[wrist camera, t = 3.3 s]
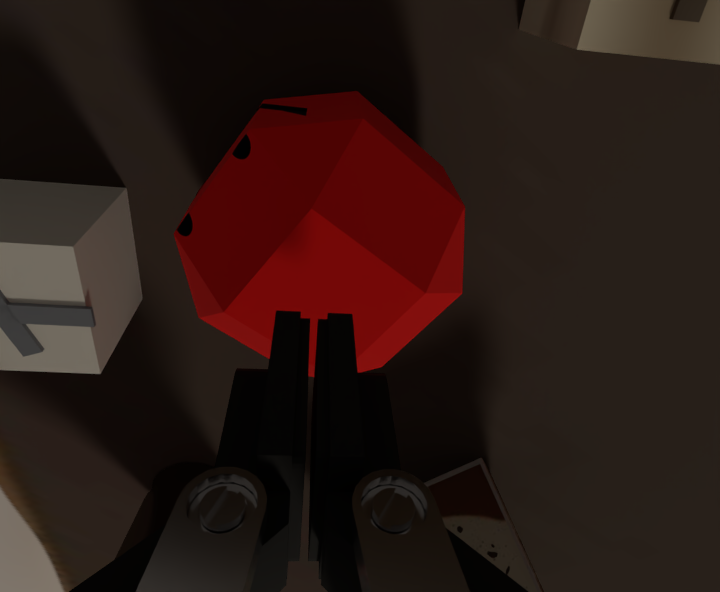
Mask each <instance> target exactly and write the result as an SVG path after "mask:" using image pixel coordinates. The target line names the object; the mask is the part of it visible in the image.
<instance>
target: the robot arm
mask: <svg viewBox="0 0 720 592" xmlns="http://www.w3.org/2000/svg"><path fill="white" fill-rule="evenodd" d="M309 340H310V318H301V311H279V310H276V315H275V322H274V330H273V337H272V345H271V352H270V359H269V367H268V369H238V368H237V370H236V372H235V376H234V380H233V385H232V390H231V394H230V399H229V404H228V408H227V413H226V418H225V422H224V427H223V432H222V436H221V441H220V446H219V451H218V455H217V460H216V465H215V469H210V470H207V471H205V472H203V473H202V474H200V475H198V476H196V477H195V478H194V479H192V480H191V481H190V482H189V483H188V484H187V485H186V486H185V487H184V489H183V490H182V492H181V493H180V495H179V497H178V499H177V501H176V503H175V506H174V508H173V510H172V512H171V514H170V517H169V519H168V521H167V523H166V524H165V525H164V526H162V527H161V528H159V529H158V530H157V531H155V532H154V533H152V534H151V535H149V536H148V537H147V538H145V539H144V540H142V541H141V542H139V543H138V544H136V545H135V546H134V547H132V548H131V549H129V550H128V551H126V552H125V553H124V554H122V555H121V556H119V557H118V558H116V559H115V560H114V561H112V562H111V563H109V564H108V565H106V566H105V567H104V568H102V569H101V570H99V571H98V572H96V573H95V574H94V575H92V576H91V577H89V578H88V579H86V580H85V581H84V582H82V583H81V584H79V585H78V586H76V587H75V588H74V589H72V590H71V591H69V592H279V591H281V590H282V589H283V588H284V587H285V586H286V579H287V569H288V561H299V556H300V540H301V523H302V506H303V490H304V473H305V454H306V428H307V399H308V369H309ZM308 561H319V579H321V585H322V586H323V587H324V588H325V589H326V590H327V591H328V592H528V591H527V590H526V589H525V588H523V587H522V586H521V585H519V584H518V583H517V582H516V581H514V580H513V579H512V578H510V577H509V576H508V575H507V574H505V573H504V572H503V571H501V570H500V569H499V568H498V567H496V566H495V565H494V564H492V563H491V562H490V561H488V560H487V559H486V558H485V557H483V556H482V555H481V554H479V553H478V552H477V551H476V550H474V549H473V548H472V547H470V546H469V545H468V544H467V543H465V542H464V541H463V540H461V539H460V538H459V537H458V536H456V535H455V534H454V533H452V532H451V531H450V530H449V529H447V528H446V527H445V525H444V522H443V519H442V517H441V514H440V511H439V509H438V506H437V504H436V501H435V498H434V497H433V495H432V493H431V491H430V490H429V488H428V487H427V486H426V485H425V484H424V483H423V482H422V481H421V480H420V479H418V478H417V477H415V476H413V475H411V474H410V473H407V472H404V471H401V469H400V462H399V456H398V449H397V443H396V436H395V430H394V423H393V417H392V410H391V404H390V397H389V391H388V385H387V379H386V375H385V374H384V373H358V371H357V360H356V348H355V337H354V325H353V315H352V314H344V313H328V316H327V319H318V326H317V341H316V356H315V372H314V387H313V402H312V423H311V464H310V506H309V548H308Z"/></svg>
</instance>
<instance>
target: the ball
mask: <svg viewBox="0 0 720 592" xmlns="http://www.w3.org/2000/svg"><path fill="white" fill-rule="evenodd" d="M464 221H465V206H464V204H463V202H462V200H461V199H460V197H459V195H458V193H457V192H456V190H455V188H454V186H453V184H452V183H451V181H450V179H449V177H448V175H447V174H446V172H445V170H444V168H443V167H442V166H441V165H440V164H439V163H438V162H437V161H436V160H434V159H433V158H432V157H431V156H430V155H429V154H428V153H427V152H425V151H424V150H423V149H422V148H421V147H420V146H419V145H418V144H416V143H415V142H414V141H413V140H412V139H411V138H410V137H409V136H407V135H406V134H405V133H404V132H403V131H402V130H401V129H400V128H398V127H397V126H396V125H395V124H394V123H393V122H392V121H390V120H389V119H388V118H387V117H386V116H385V115H384V114H383V113H381V112H380V111H379V110H378V109H377V108H376V107H375V106H374V105H372V104H371V103H370V102H369V101H368V100H367V99H366V98H365V97H363V96H362V95H361V94H360V93H359V92H358V91H351V92H341V93H330V94H320V95H309V96H298V97H288V98H277V99H266V100H263V102H262V103H261V105H260V106H259V107H258V109H257V112H256V113H255V115H254V116H253V117H252V118H251V120H250V121H249V123H248V124H247V125H246V127H245V128H244V129H243V131H242V132H241V134H240V135H239V136H238V138H237V139H236V141H235V142H234V143H233V145H232V146H231V148H230V149H229V150H228V152H227V153H226V154H225V156H224V157H223V159H222V160H221V161H220V163H219V164H218V166H217V167H216V168H215V170H214V171H213V172H212V174H211V175H210V177H209V178H208V179H207V181H205V182H204V184H203V185H202V186H201V188H200V189H199V191H198V193H197V194H196V197H195V198H194V200H193V201H192V203H191V205H190V206H189V208H188V210H187V212H186V213H185V215H184V217H183V219H182V220H181V222H180V224H179V226H178V227H177V229H176V231H175V233H174V237H175V240H176V243H177V247H178V250H179V253H180V257H181V260H182V263H183V267H184V270H185V273H186V277H187V280H188V283H189V287H190V290H191V293H192V297H193V300H194V303H195V307H196V310H197V313H198V317H199V318H200V319H202V320H203V321H205V322H207V323H208V324H210V325H212V326H214V327H215V328H217V329H219V330H220V331H222V332H224V333H226V334H227V335H229V336H231V337H232V338H234V339H236V340H238V341H239V342H241V343H243V344H244V345H246V346H248V347H250V348H251V349H253V350H255V351H256V352H258V353H260V354H262V355H263V356H265V357H267V358H268V359H270V352H271V345H272V337H273V330H274V322H275V315H276V310H279V311H301V318H310V340H309V369H308V376H311V377H314V372H315V356H316V341H317V326H318V319H327V316H328V313H344V314H352V315H353V325H354V337H355V348H356V360H357V371H358V373H361V372H365V371H368V370H372V369H376V368H380V367H382V366H383V365H384V364H386V363H387V362H388V361H389V360H390V359H391V358H392V357H393V356H394V355H395V354H396V353H398V352H399V351H400V350H401V349H402V348H403V347H404V346H405V345H406V344H407V343H408V342H410V341H411V340H412V339H413V338H414V337H415V336H416V335H417V334H418V333H419V332H420V331H422V330H423V329H424V328H425V327H426V326H427V325H428V324H429V323H430V322H431V321H432V320H434V319H435V318H436V317H437V316H438V315H439V314H440V313H441V312H442V311H443V310H444V309H446V308H447V307H448V306H449V305H450V304H451V303H452V302H453V301H454V300H455V299H456V298H458V297H459V296H460V295H461V294H462V286H463V253H464Z"/></svg>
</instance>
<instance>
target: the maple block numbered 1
mask: <svg viewBox="0 0 720 592" xmlns="http://www.w3.org/2000/svg"><path fill="white" fill-rule="evenodd" d="M519 30H521V31H524V32H527V33H530V34H533V35H536V36H539V37H542V38H544V39H547V40H550V41H553V42H556V43H559V44H562V45H565V46H568V47H571V48H574V49H577V50H586V51H596V52H605V53H615V54H625V55H634V56H644V57H654V58H663V59H673V60H682V61H692V62H702V63H711V64H720V0H525V4H524V8H523V12H522V17H521V21H520V25H519Z"/></svg>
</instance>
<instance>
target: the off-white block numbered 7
mask: <svg viewBox="0 0 720 592" xmlns="http://www.w3.org/2000/svg"><path fill="white" fill-rule="evenodd" d="M142 299H143V298H142V291H141V284H140V277H139V270H138V263H137V257H136V250H135V243H134V236H133V229H132V222H131V215H130V209H129V202H128V195H127V188H120V187H107V186H93V185H79V184H65V183H51V182H38V181H24V180H10V179H0V370H13V371H38V372H63V373H88V374H101V372H102V370H103V369H104V367H105V365H106V363H107V361H108V360H109V358H110V356H111V354H112V353H113V351H114V349H115V347H116V345H117V344H118V342H119V340H120V338H121V336H122V335H123V333H124V331H125V329H126V327H127V326H128V324H129V322H130V320H131V318H132V317H133V315H134V313H135V311H136V310H137V308H138V306H139V304H140V302H141V301H142Z"/></svg>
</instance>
